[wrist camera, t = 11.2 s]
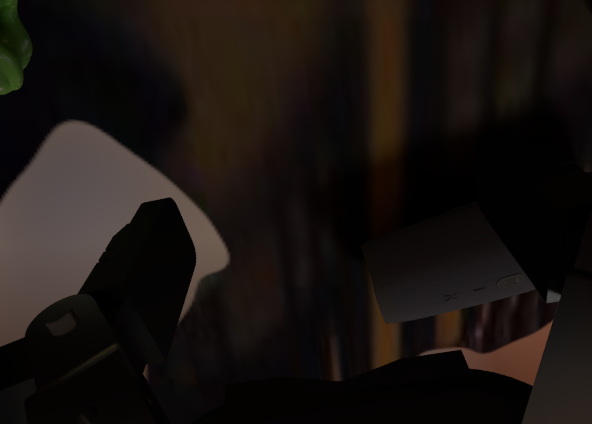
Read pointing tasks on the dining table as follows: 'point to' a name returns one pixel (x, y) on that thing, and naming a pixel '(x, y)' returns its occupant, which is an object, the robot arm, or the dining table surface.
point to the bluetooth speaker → (442, 266)
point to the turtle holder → (12, 47)
